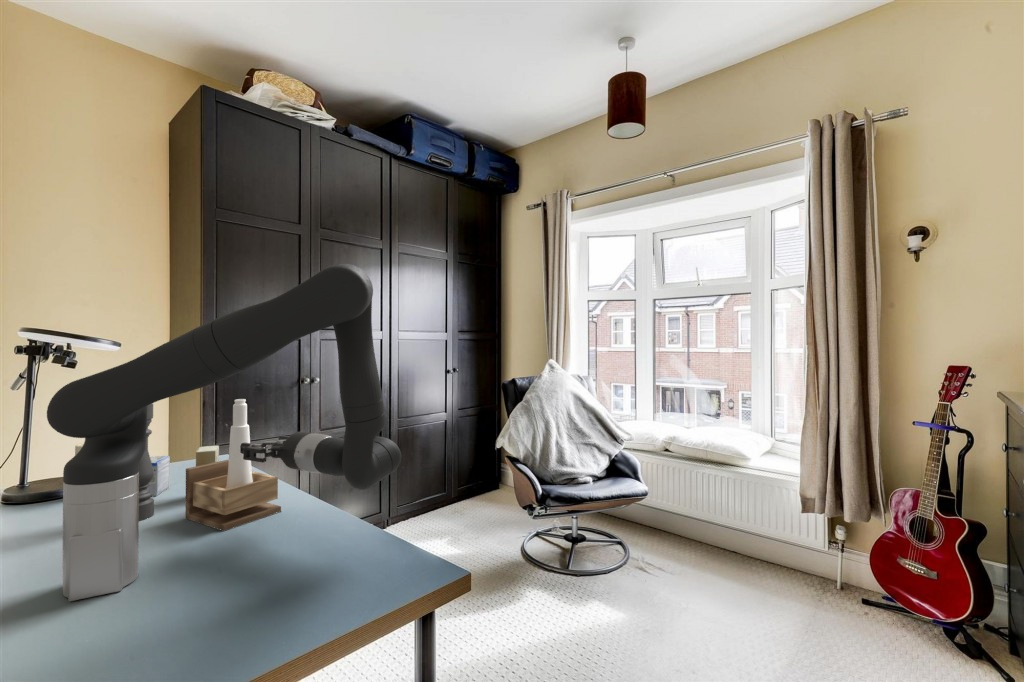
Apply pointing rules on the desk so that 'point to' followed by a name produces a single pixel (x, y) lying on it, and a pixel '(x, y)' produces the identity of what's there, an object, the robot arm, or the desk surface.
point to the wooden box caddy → (227, 497)
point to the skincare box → (207, 455)
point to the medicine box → (159, 474)
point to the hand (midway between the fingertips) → (261, 444)
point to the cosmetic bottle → (239, 434)
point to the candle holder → (146, 476)
